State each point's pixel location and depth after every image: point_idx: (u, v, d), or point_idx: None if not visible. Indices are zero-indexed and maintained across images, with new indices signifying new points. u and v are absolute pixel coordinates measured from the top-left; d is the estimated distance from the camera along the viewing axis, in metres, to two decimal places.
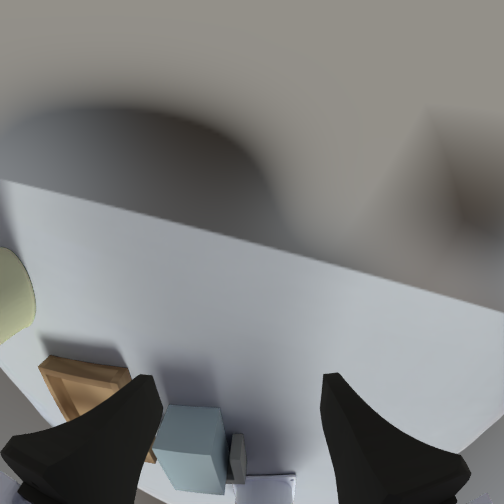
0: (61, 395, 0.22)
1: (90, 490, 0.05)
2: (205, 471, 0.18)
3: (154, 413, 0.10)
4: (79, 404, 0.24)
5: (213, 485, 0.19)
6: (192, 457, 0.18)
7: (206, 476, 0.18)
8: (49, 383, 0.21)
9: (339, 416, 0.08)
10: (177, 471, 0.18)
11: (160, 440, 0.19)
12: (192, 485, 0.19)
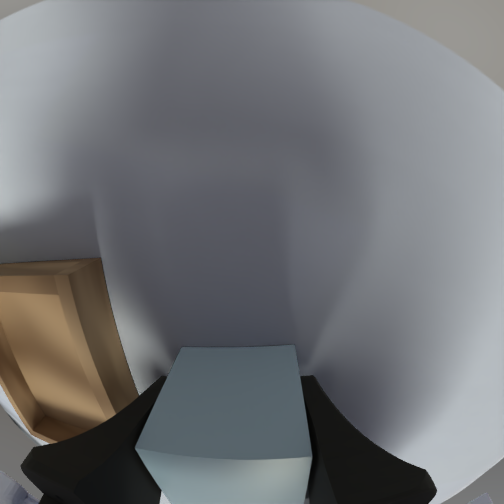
0: None
1: (119, 500, 0.05)
2: (277, 498, 0.07)
3: None
4: (22, 360, 0.13)
5: None
6: (253, 469, 0.06)
7: None
8: None
9: (308, 420, 0.08)
10: (201, 502, 0.07)
11: (159, 425, 0.07)
12: None
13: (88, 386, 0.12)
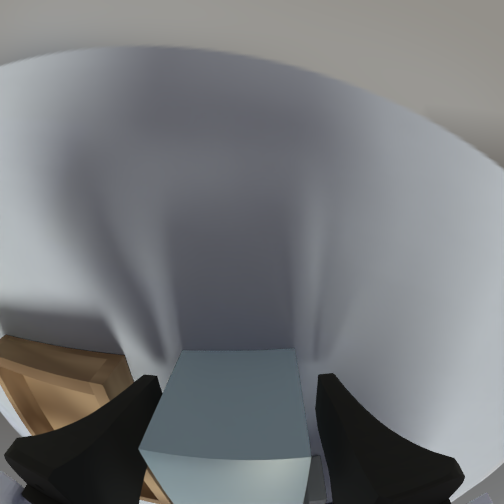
0: (21, 399, 0.12)
1: (95, 492, 0.05)
2: (277, 498, 0.07)
3: None
4: (50, 415, 0.14)
5: None
6: (253, 469, 0.06)
7: None
8: (1, 379, 0.11)
9: (333, 417, 0.08)
10: (202, 502, 0.07)
11: (161, 427, 0.07)
12: None
13: None
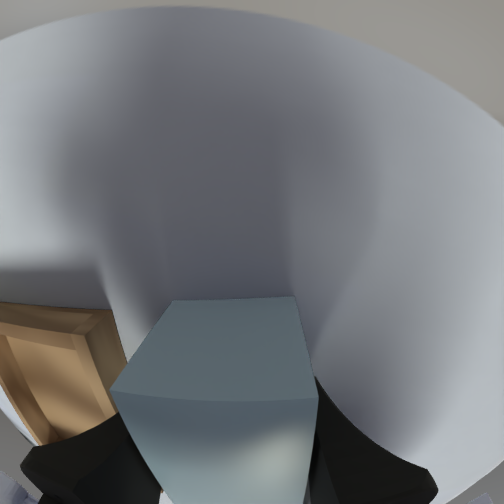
0: (6, 370, 0.12)
1: (119, 500, 0.05)
2: (277, 466, 0.06)
3: None
4: (36, 389, 0.13)
5: (283, 501, 0.07)
6: (247, 417, 0.06)
7: (273, 482, 0.06)
8: None
9: None
10: (187, 472, 0.06)
11: (140, 368, 0.07)
12: None
13: (103, 417, 0.13)
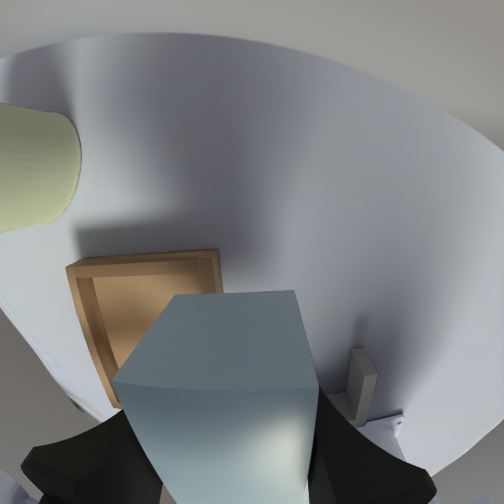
0: (93, 319, 0.18)
1: (119, 500, 0.05)
2: (278, 458, 0.06)
3: None
4: (117, 337, 0.20)
5: (283, 495, 0.07)
6: (248, 407, 0.06)
7: (274, 475, 0.07)
8: (79, 294, 0.17)
9: None
10: (188, 465, 0.07)
11: (141, 359, 0.07)
12: (227, 500, 0.07)
13: None
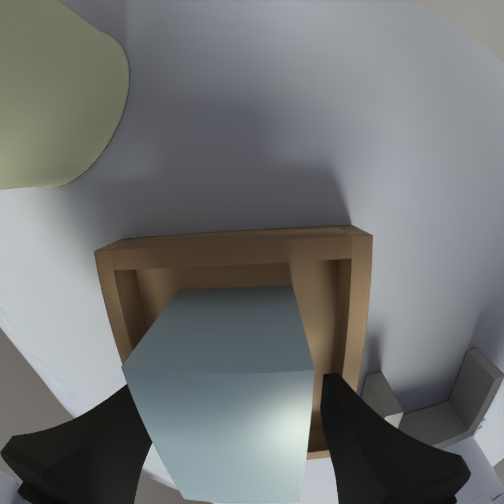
0: (137, 337, 0.12)
1: (90, 490, 0.05)
2: (277, 442, 0.07)
3: None
4: None
5: (283, 482, 0.08)
6: (249, 390, 0.06)
7: (273, 460, 0.07)
8: (118, 299, 0.10)
9: (339, 416, 0.08)
10: (192, 451, 0.07)
11: (150, 348, 0.08)
12: (229, 488, 0.08)
13: None
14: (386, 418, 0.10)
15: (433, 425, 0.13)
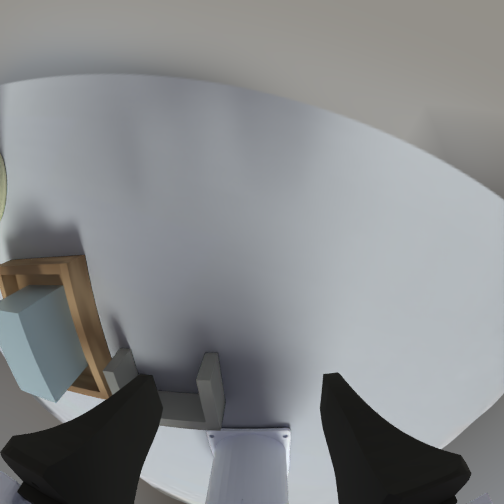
0: None
1: (90, 490, 0.05)
2: (24, 347, 0.14)
3: (154, 413, 0.10)
4: None
5: (39, 379, 0.15)
6: (8, 318, 0.14)
7: (28, 360, 0.15)
8: (3, 287, 0.18)
9: (339, 416, 0.08)
10: (8, 349, 0.15)
11: None
12: (26, 379, 0.15)
13: None
14: (104, 372, 0.18)
15: (182, 406, 0.20)
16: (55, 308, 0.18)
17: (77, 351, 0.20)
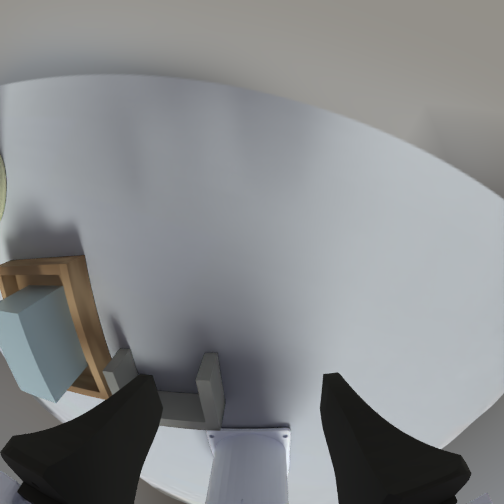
0: None
1: (90, 490, 0.05)
2: (23, 348, 0.14)
3: (154, 413, 0.10)
4: None
5: (39, 379, 0.15)
6: (8, 319, 0.14)
7: (28, 360, 0.15)
8: (3, 288, 0.18)
9: (339, 416, 0.08)
10: (8, 350, 0.15)
11: None
12: (26, 379, 0.15)
13: None
14: (103, 372, 0.18)
15: (182, 406, 0.20)
16: (55, 308, 0.18)
17: (77, 351, 0.20)
